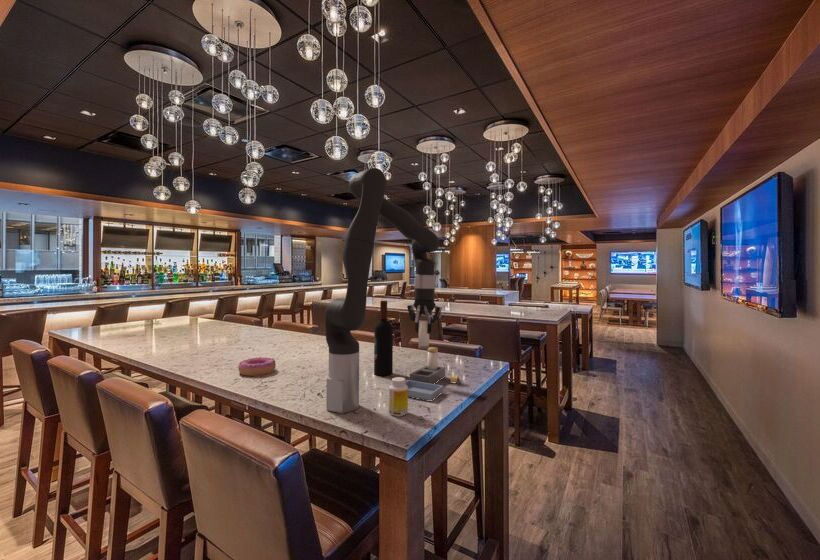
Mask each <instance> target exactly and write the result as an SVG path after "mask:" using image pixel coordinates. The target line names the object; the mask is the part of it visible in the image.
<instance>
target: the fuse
mask: <svg viewBox="0 0 820 560" xmlns="http://www.w3.org/2000/svg"><path fill="white" fill-rule="evenodd" d="M438 352H439V348H438V347H435V346H429V349H427V359H426V360H427V361H426V363H427V364H426V365H427V370H434V371H437V370H438V367H439V363H438V362H439V358H438V357H439V353H438Z"/></svg>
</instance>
